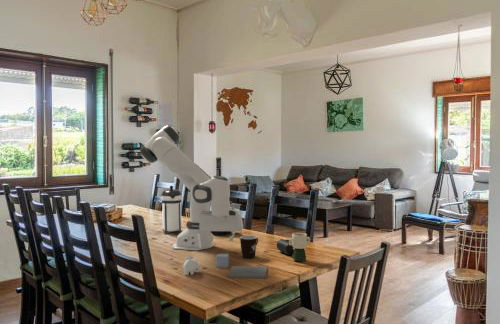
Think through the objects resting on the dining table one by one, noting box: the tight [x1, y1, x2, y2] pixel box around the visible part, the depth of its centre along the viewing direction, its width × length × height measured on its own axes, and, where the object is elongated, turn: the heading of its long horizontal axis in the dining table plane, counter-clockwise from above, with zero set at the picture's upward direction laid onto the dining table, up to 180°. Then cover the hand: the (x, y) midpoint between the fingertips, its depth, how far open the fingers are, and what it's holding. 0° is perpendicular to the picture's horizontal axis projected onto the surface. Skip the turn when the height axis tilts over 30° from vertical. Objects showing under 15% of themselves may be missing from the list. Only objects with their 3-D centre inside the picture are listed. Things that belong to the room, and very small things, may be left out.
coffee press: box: [161, 185, 183, 235], centre depth 271 cm, size 17×16×30 cm
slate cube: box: [215, 253, 230, 268], centre depth 196 cm, size 5×5×5 cm
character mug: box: [288, 232, 311, 262], centre depth 202 cm, size 11×7×13 cm, turn 107°
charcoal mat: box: [227, 265, 268, 279], centre depth 185 cm, size 16×14×1 cm
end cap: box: [276, 238, 295, 257], centre depth 216 cm, size 10×7×7 cm
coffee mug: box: [239, 234, 259, 260], centre depth 211 cm, size 12×9×10 cm
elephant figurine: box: [180, 254, 203, 276], centre depth 185 cm, size 8×10×7 cm
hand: (221, 240), depth 195 cm, fingers open, 8 cm apart
